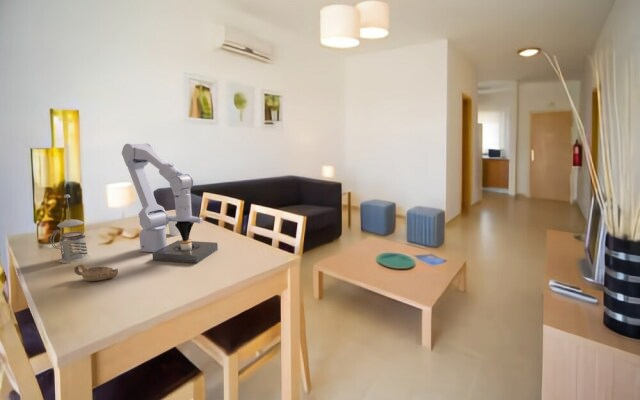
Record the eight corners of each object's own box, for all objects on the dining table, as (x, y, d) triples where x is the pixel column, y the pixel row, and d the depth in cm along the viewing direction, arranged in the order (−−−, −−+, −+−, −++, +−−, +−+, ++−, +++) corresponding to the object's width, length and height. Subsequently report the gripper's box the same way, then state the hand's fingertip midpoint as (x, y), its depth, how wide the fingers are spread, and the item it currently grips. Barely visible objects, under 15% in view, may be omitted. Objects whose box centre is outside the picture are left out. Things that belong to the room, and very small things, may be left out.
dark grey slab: (153, 260, 119) (152, 253, 119) (178, 247, 135) (177, 240, 134) (196, 263, 117) (196, 255, 116) (217, 249, 132) (217, 242, 132)
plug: (179, 256, 124) (177, 241, 123) (185, 252, 128) (184, 238, 127) (188, 257, 123) (187, 242, 122) (194, 253, 127) (193, 239, 126)
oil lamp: (124, 274, 107) (122, 260, 106) (109, 284, 100) (107, 269, 99) (85, 274, 107) (83, 260, 106) (68, 284, 100) (65, 269, 99)
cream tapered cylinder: (187, 232, 157) (186, 219, 155) (176, 236, 150) (175, 222, 149) (176, 231, 159) (175, 218, 158) (165, 235, 153) (164, 221, 151)
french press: (96, 256, 124) (88, 193, 119) (62, 266, 113) (52, 198, 109) (82, 252, 128) (73, 191, 124) (47, 262, 118) (37, 196, 113)
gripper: (159, 207, 120) (162, 241, 122) (194, 208, 117) (197, 244, 120) (171, 204, 126) (173, 236, 129) (204, 205, 124) (206, 238, 126)
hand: (185, 239), depth 125 cm, fingers closed
